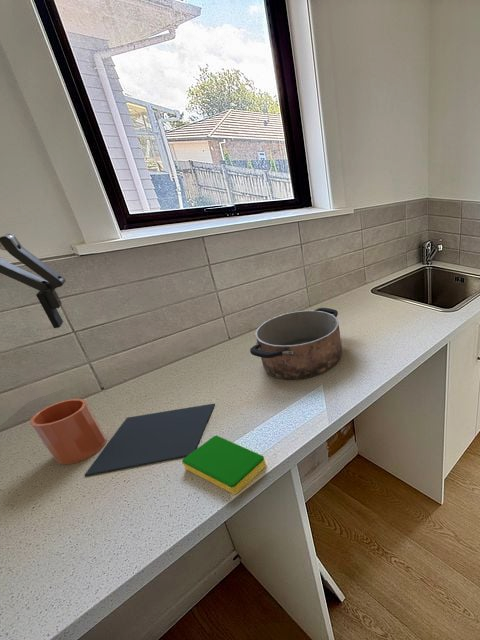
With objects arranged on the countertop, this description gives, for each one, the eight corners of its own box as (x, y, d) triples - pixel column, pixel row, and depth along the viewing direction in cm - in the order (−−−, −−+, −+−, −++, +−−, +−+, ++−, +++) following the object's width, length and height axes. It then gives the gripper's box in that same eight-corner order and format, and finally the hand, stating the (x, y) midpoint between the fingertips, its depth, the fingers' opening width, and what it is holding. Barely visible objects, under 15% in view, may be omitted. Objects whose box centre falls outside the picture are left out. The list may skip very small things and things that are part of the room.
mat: (85, 476, 63) (84, 474, 63) (127, 418, 77) (126, 417, 76) (193, 455, 67) (193, 453, 67) (215, 404, 81) (214, 403, 81)
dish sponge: (235, 495, 59) (231, 486, 58) (184, 469, 64) (180, 460, 63) (267, 465, 65) (264, 456, 64) (218, 443, 70) (215, 434, 69)
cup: (46, 468, 64) (18, 429, 60) (71, 439, 71) (48, 402, 67) (93, 459, 66) (70, 421, 62) (114, 432, 73) (94, 395, 68)
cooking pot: (300, 397, 84) (292, 361, 79) (234, 377, 91) (223, 343, 86) (362, 342, 109) (360, 312, 104) (307, 330, 116) (302, 301, 111)
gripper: (-262, 217, 39) (-132, 367, 49) (39, 204, 52) (96, 325, 61) (-209, 209, 45) (-101, 345, 54) (51, 199, 58) (102, 310, 67)
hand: (4, 335), depth 58 cm, fingers open, 13 cm apart
